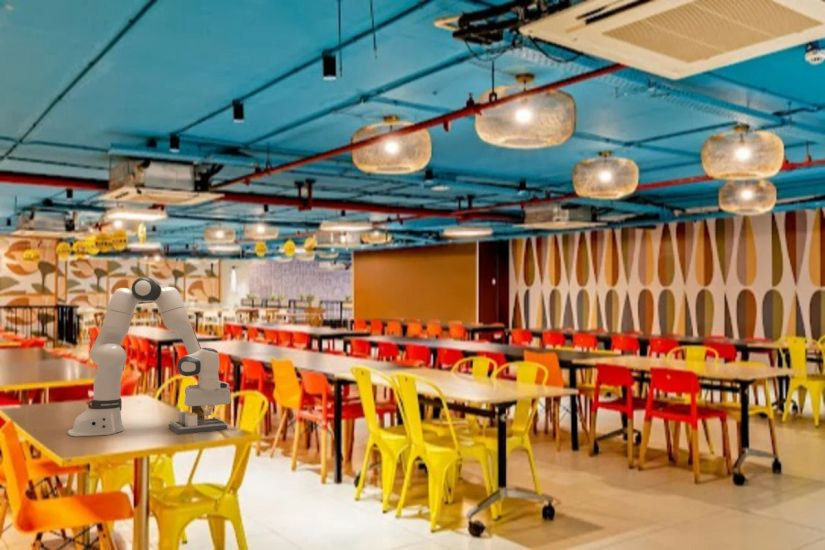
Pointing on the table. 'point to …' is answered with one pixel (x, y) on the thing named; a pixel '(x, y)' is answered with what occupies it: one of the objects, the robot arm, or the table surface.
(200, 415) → the condiment
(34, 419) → the table surface
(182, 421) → the block
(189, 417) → the fader
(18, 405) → the table surface
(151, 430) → the table surface
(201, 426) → the grey tray
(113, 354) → the robot arm
